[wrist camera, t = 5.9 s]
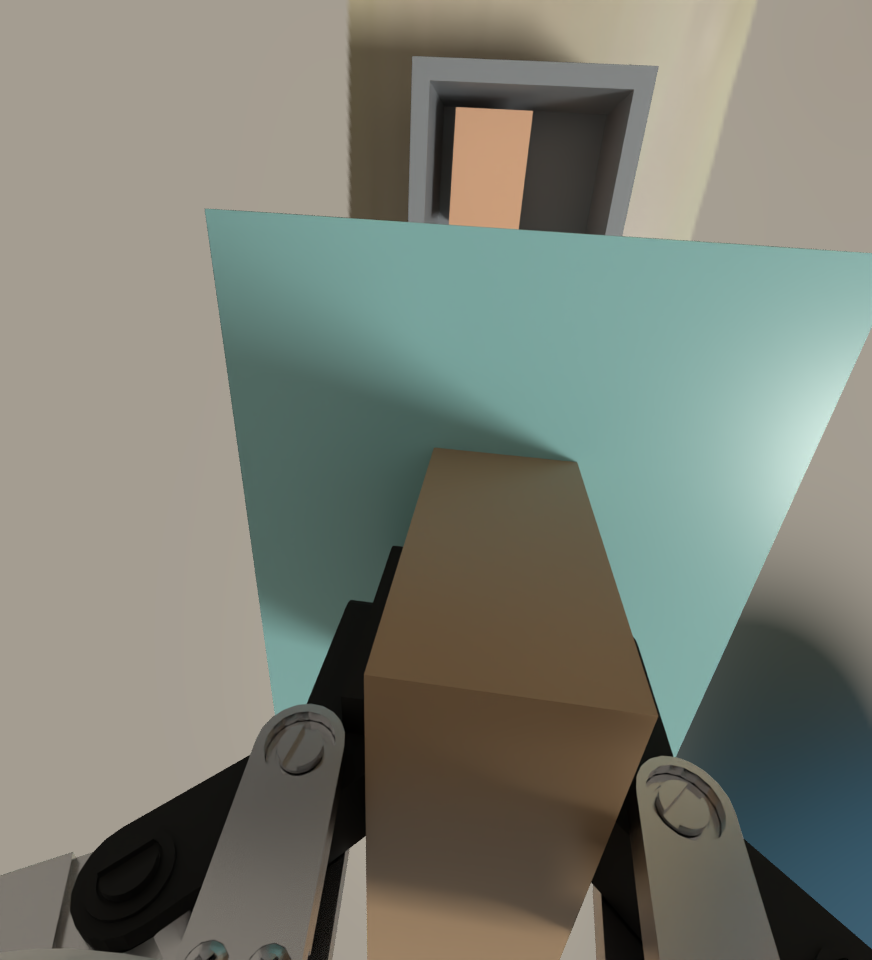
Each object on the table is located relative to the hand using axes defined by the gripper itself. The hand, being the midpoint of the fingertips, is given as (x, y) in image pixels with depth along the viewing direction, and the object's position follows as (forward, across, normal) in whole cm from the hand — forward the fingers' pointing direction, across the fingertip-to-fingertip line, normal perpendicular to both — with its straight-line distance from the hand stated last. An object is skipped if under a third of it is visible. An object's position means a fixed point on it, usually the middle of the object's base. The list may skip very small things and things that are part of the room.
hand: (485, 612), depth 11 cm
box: (+26, 0, -7) cm, 27 cm away
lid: (+4, 0, 0) cm, 4 cm away
